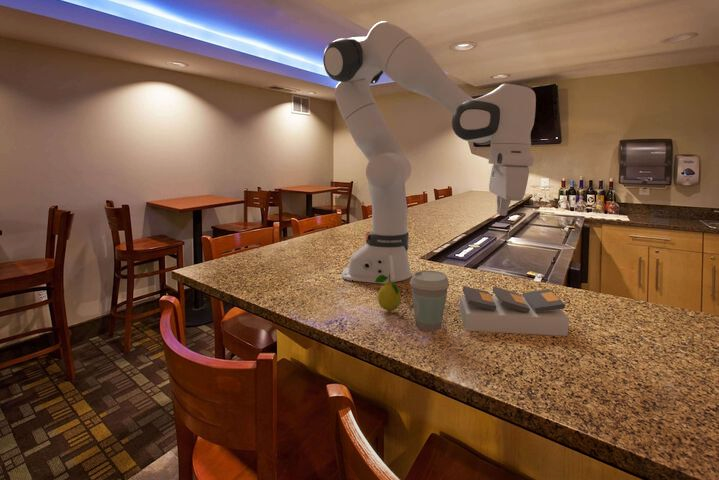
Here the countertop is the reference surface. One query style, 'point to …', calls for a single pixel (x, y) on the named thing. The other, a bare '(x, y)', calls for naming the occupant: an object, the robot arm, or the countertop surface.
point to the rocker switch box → (513, 319)
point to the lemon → (388, 294)
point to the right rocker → (543, 300)
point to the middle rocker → (510, 299)
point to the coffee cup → (429, 299)
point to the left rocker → (479, 298)
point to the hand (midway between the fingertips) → (501, 214)
